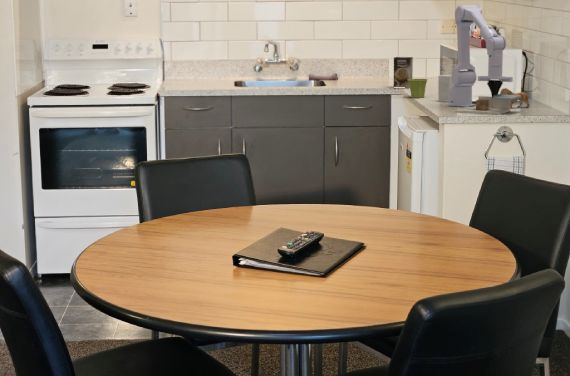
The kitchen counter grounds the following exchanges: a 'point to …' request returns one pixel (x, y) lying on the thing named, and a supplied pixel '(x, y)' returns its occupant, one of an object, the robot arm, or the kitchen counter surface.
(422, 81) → the plant pot
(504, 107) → the puzzle board
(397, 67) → the coffee box
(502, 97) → the cover
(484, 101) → the block
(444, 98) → the skincare box
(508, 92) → the lion figurine
